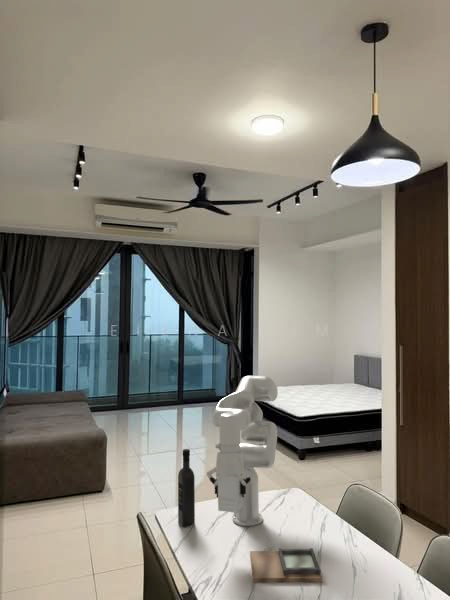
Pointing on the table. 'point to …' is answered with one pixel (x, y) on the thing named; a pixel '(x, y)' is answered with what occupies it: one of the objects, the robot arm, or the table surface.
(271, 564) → the board
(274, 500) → the table surface
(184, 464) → the wine bottle
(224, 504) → the supplement box
